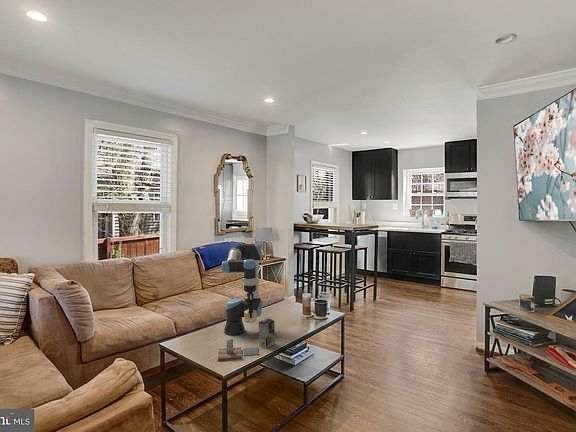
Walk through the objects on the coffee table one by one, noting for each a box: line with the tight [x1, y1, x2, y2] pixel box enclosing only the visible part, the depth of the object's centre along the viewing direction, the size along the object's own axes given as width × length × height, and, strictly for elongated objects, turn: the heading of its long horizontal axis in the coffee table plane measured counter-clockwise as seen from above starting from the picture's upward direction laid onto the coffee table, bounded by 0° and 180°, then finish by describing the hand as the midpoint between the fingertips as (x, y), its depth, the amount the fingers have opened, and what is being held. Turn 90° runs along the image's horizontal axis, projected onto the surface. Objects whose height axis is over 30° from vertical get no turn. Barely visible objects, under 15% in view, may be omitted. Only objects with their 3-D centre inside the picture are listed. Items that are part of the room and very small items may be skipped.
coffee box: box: [258, 318, 276, 349], centre depth 223 cm, size 9×6×16 cm
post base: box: [217, 338, 243, 362], centre depth 208 cm, size 14×14×10 cm
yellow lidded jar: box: [243, 310, 257, 324], centre depth 212 cm, size 8×8×7 cm
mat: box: [243, 347, 260, 357], centre depth 212 cm, size 10×9×1 cm
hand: (250, 320), depth 212 cm, fingers closed on yellow lidded jar, 7 cm apart
